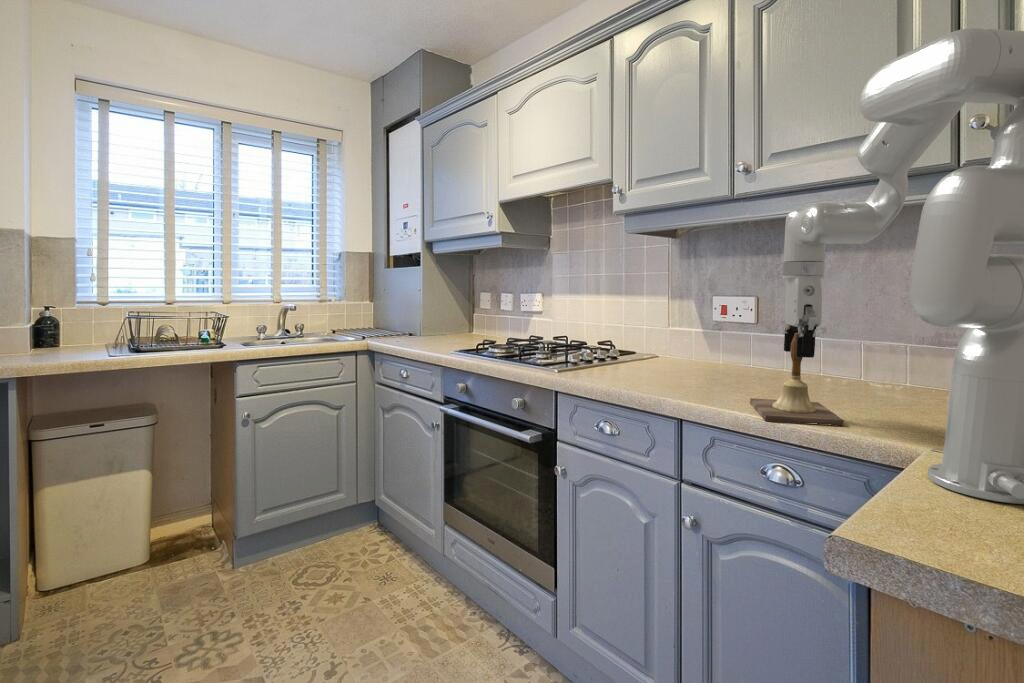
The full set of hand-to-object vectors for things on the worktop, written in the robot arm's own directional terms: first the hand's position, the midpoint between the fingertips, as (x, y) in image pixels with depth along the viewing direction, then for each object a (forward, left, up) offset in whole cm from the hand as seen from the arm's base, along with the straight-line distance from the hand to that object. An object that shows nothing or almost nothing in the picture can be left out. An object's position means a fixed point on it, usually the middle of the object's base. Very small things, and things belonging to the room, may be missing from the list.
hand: (798, 354), depth 114 cm
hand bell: (0, 0, -12) cm, 12 cm away
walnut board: (0, 0, -13) cm, 13 cm away
